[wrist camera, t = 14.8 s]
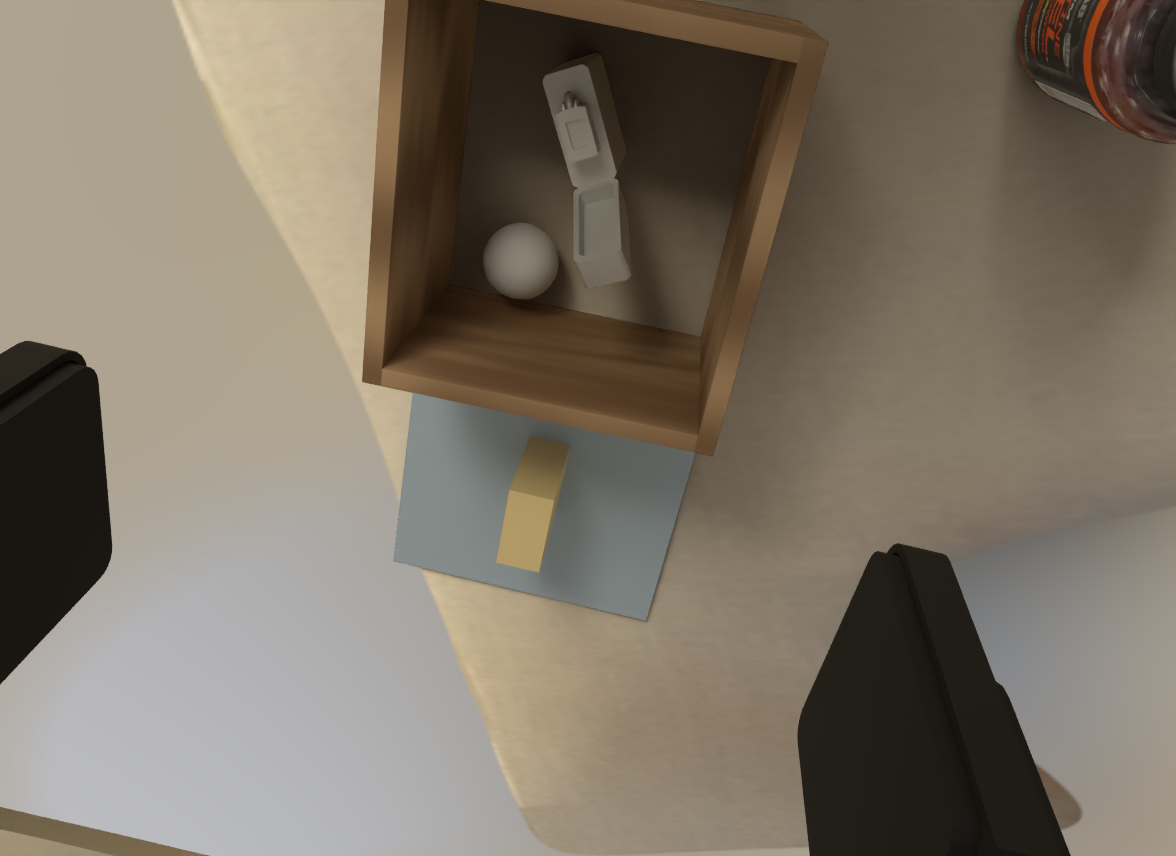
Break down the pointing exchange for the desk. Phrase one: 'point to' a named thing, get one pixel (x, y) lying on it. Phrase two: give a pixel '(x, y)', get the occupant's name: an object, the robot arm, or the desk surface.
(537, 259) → the grey ball
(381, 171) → the box
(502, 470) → the lid
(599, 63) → the lighter
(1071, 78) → the supplement bottle
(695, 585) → the desk surface
